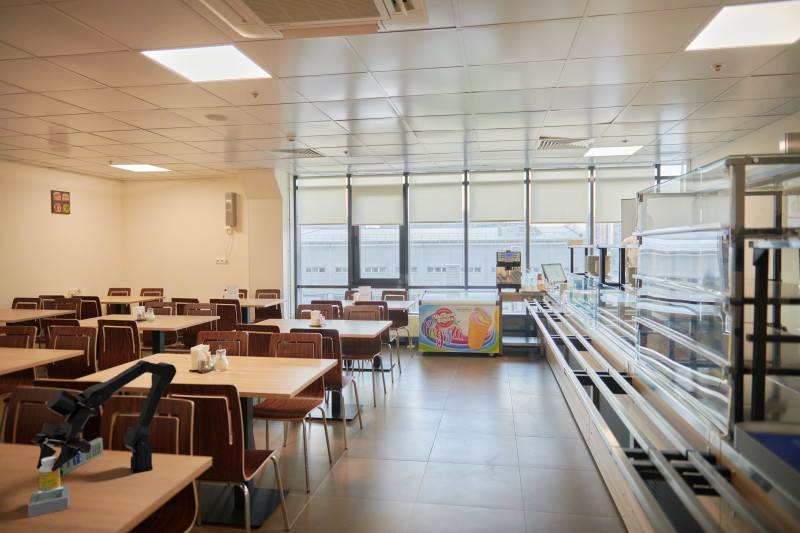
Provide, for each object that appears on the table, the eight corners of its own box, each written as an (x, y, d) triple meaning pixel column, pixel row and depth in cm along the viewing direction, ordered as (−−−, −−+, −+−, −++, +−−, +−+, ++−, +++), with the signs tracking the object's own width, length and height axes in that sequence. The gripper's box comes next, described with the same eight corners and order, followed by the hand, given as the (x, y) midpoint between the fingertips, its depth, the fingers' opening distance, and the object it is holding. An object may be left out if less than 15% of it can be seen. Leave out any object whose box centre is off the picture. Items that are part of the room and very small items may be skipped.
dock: (69, 495, 168) (69, 485, 168) (67, 508, 159) (67, 497, 159) (32, 503, 163) (31, 492, 163) (28, 517, 154) (28, 506, 154)
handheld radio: (104, 454, 203) (52, 482, 178) (97, 454, 203) (44, 482, 178) (104, 437, 202) (51, 463, 178) (96, 437, 203) (43, 463, 178)
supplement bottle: (38, 494, 157) (37, 463, 157) (41, 487, 162) (39, 457, 162) (59, 490, 160) (58, 459, 159) (61, 483, 165) (60, 453, 164)
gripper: (35, 409, 166) (3, 456, 156) (82, 413, 161) (51, 462, 151) (58, 424, 174) (28, 470, 164) (103, 429, 169) (75, 476, 159)
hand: (45, 469), depth 159 cm, fingers closed on supplement bottle, 5 cm apart
